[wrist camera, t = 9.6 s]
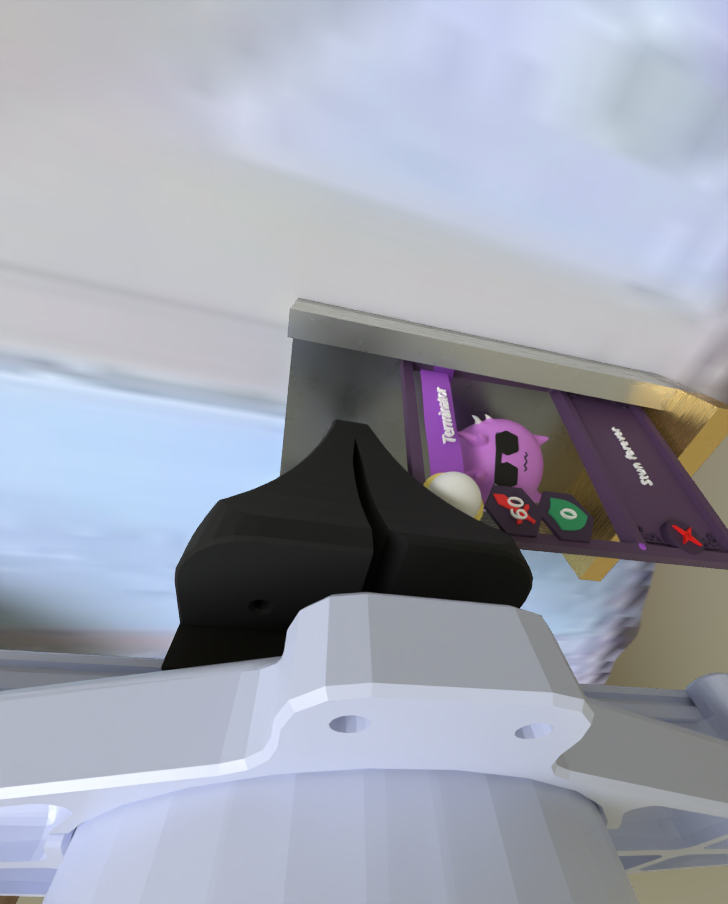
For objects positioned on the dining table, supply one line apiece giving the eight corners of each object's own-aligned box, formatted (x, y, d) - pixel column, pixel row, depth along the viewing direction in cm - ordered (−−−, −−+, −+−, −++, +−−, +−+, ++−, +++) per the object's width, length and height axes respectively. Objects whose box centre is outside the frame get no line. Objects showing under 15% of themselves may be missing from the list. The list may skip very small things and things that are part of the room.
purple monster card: (786, 555, 8) (428, 516, 7) (621, 610, 12) (376, 591, 11) (646, 376, 12) (408, 333, 11) (558, 460, 16) (375, 436, 15)
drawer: (557, 523, 17) (600, 581, 15) (280, 485, 15) (264, 544, 13) (657, 374, 13) (746, 413, 10) (298, 298, 11) (281, 318, 8)
